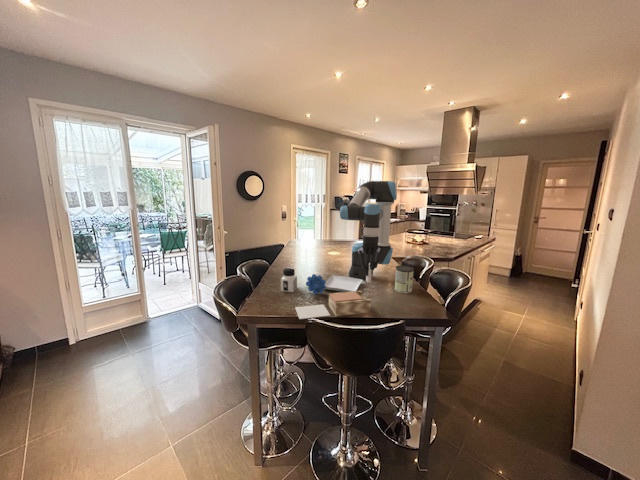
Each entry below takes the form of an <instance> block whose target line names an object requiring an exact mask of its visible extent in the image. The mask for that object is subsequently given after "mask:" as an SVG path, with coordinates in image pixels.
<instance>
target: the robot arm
mask: <svg viewBox="0 0 640 480" xmlns="http://www.w3.org/2000/svg"><path fill="white" fill-rule="evenodd" d="M397 194H398V192H397V184H396V182H395V181H391V180H384V181H383V180H381V181H380V180H371V181H366V182H364V183H362V184H361V185H359V186H357V188H356V190H355V194H354V196H353V197H352V199H351V200H350V202H349V203H348V204H347V205H341V207H340V208H339V209H340V210H339V218H340V220H345V221H357V222H358V221H360V222H363V232H362V233H363V237H362V242H358V243H355V244H353V245H352V249H351V265H350V267H349V268H350V269H349V271H348V277H350V278H357V279H362V280H363V281H364V280H365V282H367V283H371V282H372V276H373V274H374V270H375V269H377V268H378V266H379V265H389V264H390V263H391V260H392V257H393V252H394V248H393V247H391V246H392V244H391V243H390V229H391V215H392V214H391V213H392V206H393V204H395V201H396V200H397V199H398V197H397ZM368 200H375V203H366V201H368ZM365 203H366V204H365ZM364 204H365V205H364Z"/></svg>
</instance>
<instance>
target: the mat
mask: <svg viewBox="0 0 640 480" xmlns="http://www.w3.org/2000/svg"><path fill="white" fill-rule="evenodd" d="M294 308H295V311H296V314H297V317H298V319H299V320H305V319H315V318H324V317H330V316H331V314H330V312H329V311H328V308H326V305H325V304H314V305H313V304H312V305H304V306H296V307H294Z"/></svg>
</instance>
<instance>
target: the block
mask: <svg viewBox="0 0 640 480" xmlns="http://www.w3.org/2000/svg"><path fill="white" fill-rule="evenodd" d="M336 293H337V294H330V293H329V294H330V299H331V300H332V302H333V303H334V304H335V302H344V301H354V300H362V298H361V297H360V296H359V295H358V294H357V293H356V292H347V293H340V292H336Z"/></svg>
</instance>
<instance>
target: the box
mask: <svg viewBox="0 0 640 480" xmlns="http://www.w3.org/2000/svg"><path fill="white" fill-rule="evenodd" d="M351 292H356V293H357V294H358V295H359V296H360V297H361V298H362V300H354V301H344V302H335V304H334V303H333V302H332V300H331V299H330V294H337V293H338V292H331V293H330V292H329V293H328V306H329V308H330V310H331V311H332V313H333V314H334V316H335V317H341V316H350V315H359V314H367V313H371V309H372V308H371V307H372V305H371V304H372V299H371V298H366V297H365V296H364V295H363V291H362V290H357V291H351ZM339 293H347V292H340V291H339Z"/></svg>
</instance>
